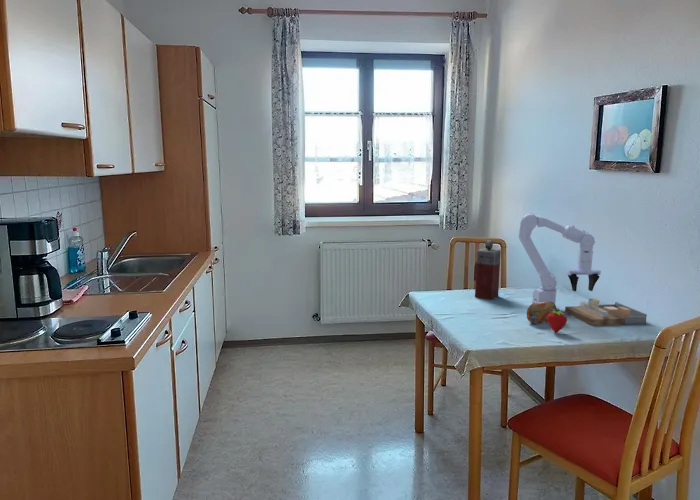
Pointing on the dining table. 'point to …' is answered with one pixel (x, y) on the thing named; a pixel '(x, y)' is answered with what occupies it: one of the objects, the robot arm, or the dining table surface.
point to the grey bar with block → (593, 307)
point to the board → (594, 316)
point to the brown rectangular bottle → (487, 272)
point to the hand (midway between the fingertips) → (582, 290)
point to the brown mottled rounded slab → (540, 312)
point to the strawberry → (556, 320)
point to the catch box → (635, 315)
